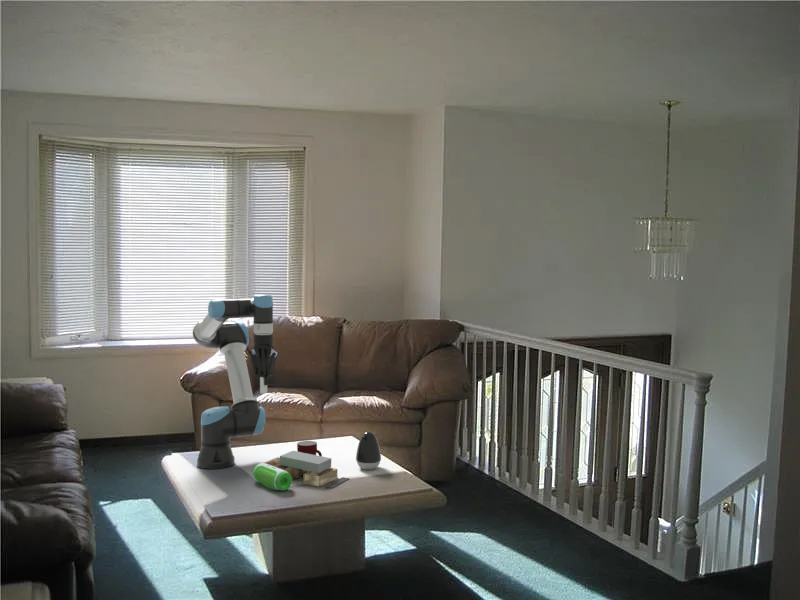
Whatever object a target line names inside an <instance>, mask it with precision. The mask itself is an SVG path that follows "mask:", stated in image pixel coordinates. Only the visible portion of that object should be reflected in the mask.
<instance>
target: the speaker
mask: <svg viewBox="0 0 800 600" xmlns="http://www.w3.org/2000/svg"><path fill="white" fill-rule="evenodd" d="M252 477H253V478H254V480H255V481H256V482H258V483H260V484H261V485H263V486H265V487H267V488H269V489H272V490H277V491H281V492H283V491H287V490H288V489H290V488H291V486H292V483H293V480H292V476H291V475H290V474H289V473H288V472H287V471H285V470H282V469H279V468H277V467H274V466H272V465H269V464H266V463H265V462H261V463H260V462H259V463H258V464H256V465H255V466H254V467H253V469H252Z"/></svg>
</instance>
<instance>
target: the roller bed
mask: <svg viewBox="0 0 800 600" xmlns="http://www.w3.org/2000/svg"><path fill="white" fill-rule="evenodd" d="M264 463H266V464H269V465H272V466H274V467H277V468H279V469H282V470H285V471H287V472H288V473H289V474H290V475H291V476H292V481H293V480H294V479H297V478H298V477H301V476H302V475H303V474H305V473H307V472H309V471H306V470H302V469H297V468H292V467H287V466H283V465H280V456H279V457H278V456H277V457H274V458H273V459H271V460H268V461H266V462H264Z"/></svg>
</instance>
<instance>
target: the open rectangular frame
mask: <svg viewBox="0 0 800 600" xmlns="http://www.w3.org/2000/svg"><path fill="white" fill-rule="evenodd" d="M330 469H331V471H329V472H327V473H325V474H323V475H321V476H314V475H308V474H309V473H310V472H311V471H308V472H307V473H305V474H303V476H302V477H303V480H302V481H303V484H305V485H308V486H315V487H316V486H317V487H322V486H324V485H326V484H328V483H330V482H333V481H334V480H336V479H337V478H338V468H335V467H332V466H331V467H330Z"/></svg>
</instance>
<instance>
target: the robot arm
mask: <svg viewBox="0 0 800 600" xmlns="http://www.w3.org/2000/svg"><path fill="white" fill-rule="evenodd" d="M273 300H274V298H273V296H272V295H271V294H255V295H253V297H250V298H236V299H233V298H232V299H231V298H229V299H228V298H226V299H221V298H220V299H211V300H210V301H209V302H208V305H207V310H208V311H207V314H206V315H205V317H204V318H203V319H202V320H200V321H198V322H197V323H196V324H195V325H194V327H193V328H192V337H193V339H194V341H195V342H196V344H198V345H199V346H201V347H204V348H206V349H219V351H220V354H221V355H223V356H224V359H225V365H226V371H227V376H228V379H229V380H228V381H229V385H230V390H231V395H232V396H231V397H232V400H233V403H232V405H231V407H229V406H227V405H226V406H224V405H223V406H214V407H210V408H207V409H206V410H204V411H202V413H201V414H200V431H201V432H200V443H201V445H200V446H201V447H200V449H199V454H198V457H197V459H196V461H197V462H196V465H197V467H198V466H199V467H198V468H200V467H201V469H205V468H207V470H208V469H209V470H217V469H224V468H229V467H232V466H234V465H235V456H234V453H233V449H232V447H231V438H241V437H248V436H249V437H250V436H251V437H253V436H256V435H260V434H262V433H263V431H264V429H265V424H266V410H265V408H264V407H263V406H261V405H259V401H258V400H256V399H255V398H254V395H253V390H252V385H251V380H250V374H249V369H248V364H247V360H246V354H245V351H246V350H247V347H248V345H249V343H250V337H249V335H250V334H249V330H248V328H247V325H246V324H245V323H244V322H242V321H235V320H231V321H228V319H241V318H243V319H245V318H253V333H254V334H253V344H254V346H253V349H251V350H249V351H248V354H249V356H250V359H251V365H252V369H253V374H254V376H257V377H258V385H259V393H260V394H261V395H263V394H264V395H265V394H268V385H270V381H269V380H270V379H269V378H270V376H271V377H272V376H273V375H274V371H275V366H276V362H277V357H278V356H279V352H278V351H276V350H274V346H273V343H274V335H273V333H274V324H273V323H274V322H273V321H274V315H273V312H274V310H273V309H274V308H273V307H274V302H273Z"/></svg>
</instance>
